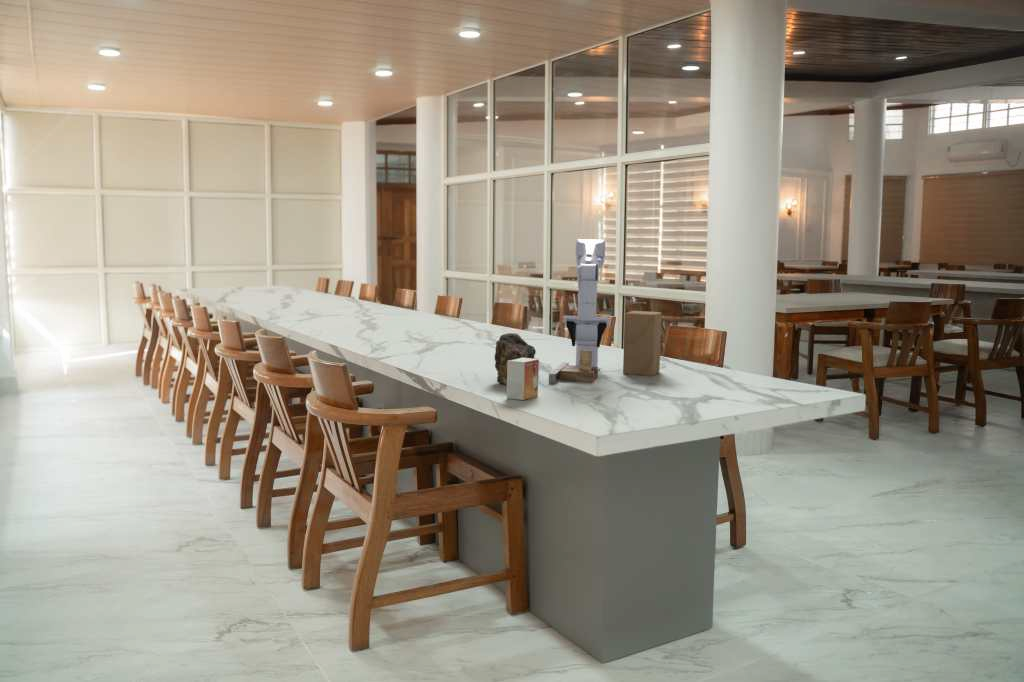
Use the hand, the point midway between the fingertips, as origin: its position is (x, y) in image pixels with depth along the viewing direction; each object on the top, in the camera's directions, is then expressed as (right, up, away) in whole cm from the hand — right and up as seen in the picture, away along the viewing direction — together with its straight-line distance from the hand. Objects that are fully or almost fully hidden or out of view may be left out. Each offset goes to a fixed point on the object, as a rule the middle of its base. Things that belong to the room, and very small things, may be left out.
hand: (585, 346), depth 265 cm
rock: (-22, -11, -8) cm, 26 cm away
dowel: (0, -10, +1) cm, 10 cm away
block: (-2, -10, +2) cm, 10 cm away
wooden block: (+20, -9, +15) cm, 26 cm away
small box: (-20, -14, -31) cm, 39 cm away
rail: (-8, -10, +3) cm, 13 cm away
